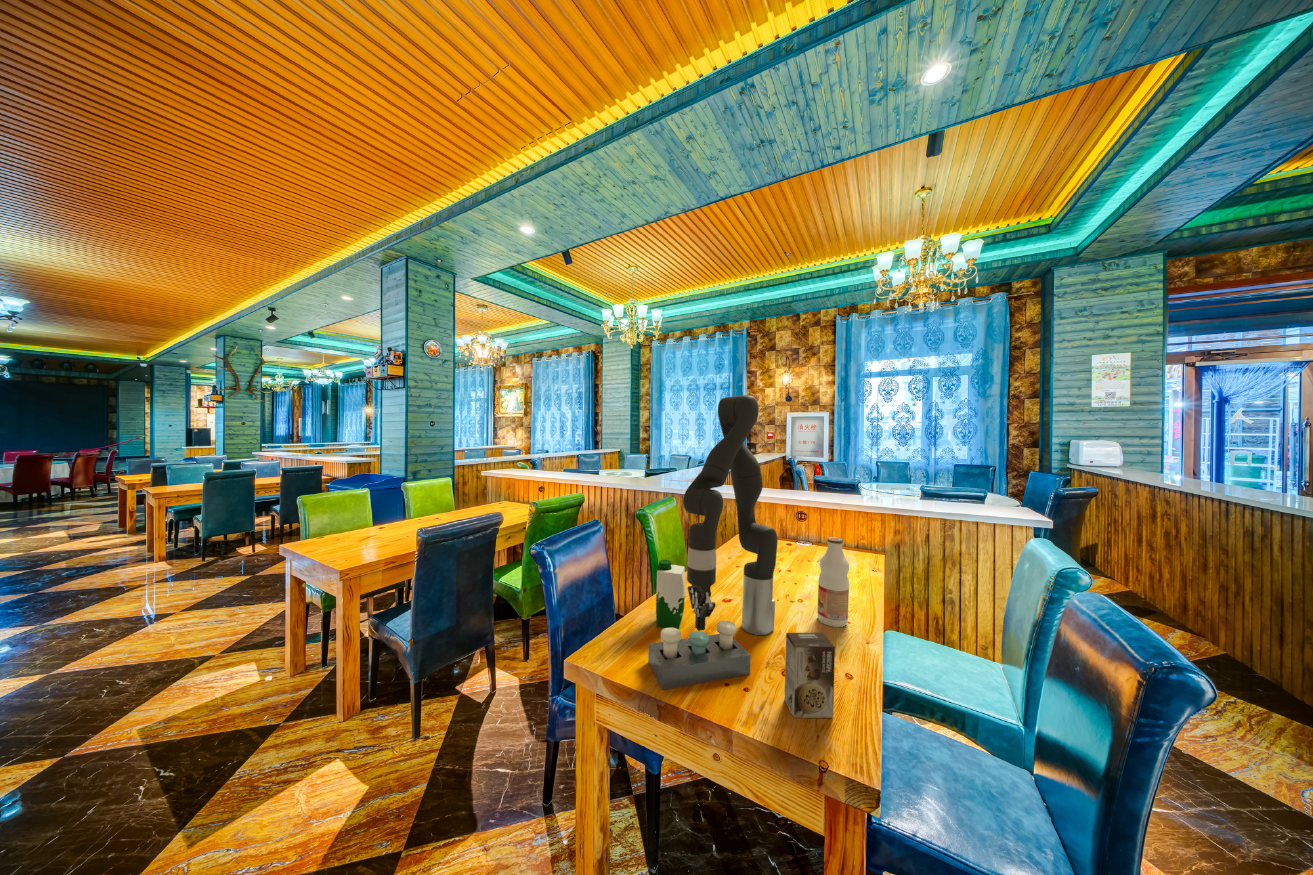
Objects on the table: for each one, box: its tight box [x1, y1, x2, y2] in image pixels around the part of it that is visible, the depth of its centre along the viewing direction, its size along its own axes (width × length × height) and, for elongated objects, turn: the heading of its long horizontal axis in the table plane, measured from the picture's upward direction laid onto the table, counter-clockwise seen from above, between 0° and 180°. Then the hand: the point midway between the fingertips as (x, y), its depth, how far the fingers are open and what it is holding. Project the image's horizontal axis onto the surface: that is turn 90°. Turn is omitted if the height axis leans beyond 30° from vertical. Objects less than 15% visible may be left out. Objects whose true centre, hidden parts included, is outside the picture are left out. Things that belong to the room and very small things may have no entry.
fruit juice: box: [817, 536, 850, 628], centre depth 135 cm, size 9×9×28 cm
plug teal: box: [688, 630, 710, 655], centre depth 106 cm, size 5×5×6 cm
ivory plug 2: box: [716, 620, 737, 650], centre depth 108 cm, size 5×5×6 cm
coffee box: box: [784, 632, 836, 719], centre depth 92 cm, size 9×6×16 cm
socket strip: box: [647, 633, 752, 691], centre depth 106 cm, size 24×12×5 cm, turn 108°
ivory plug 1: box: [660, 628, 682, 659], centre depth 104 cm, size 5×5×6 cm
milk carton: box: [655, 559, 686, 630], centre depth 130 cm, size 9×9×20 cm
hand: (700, 628), depth 106 cm, fingers closed
